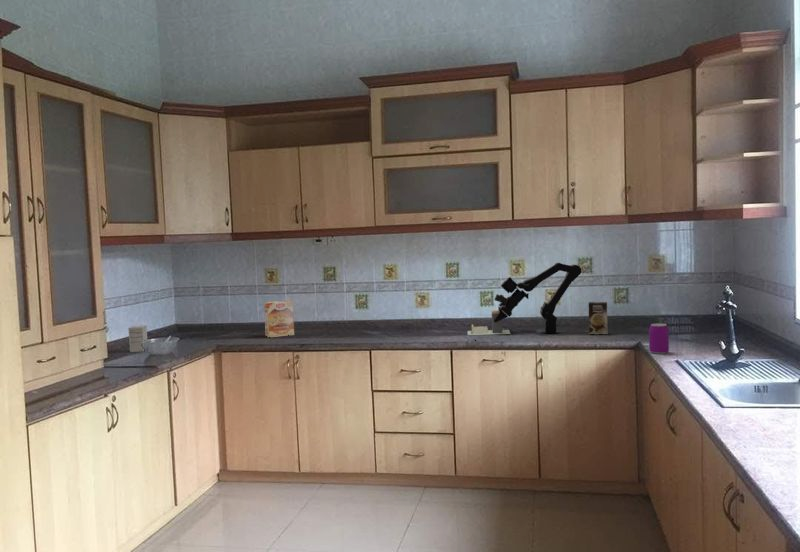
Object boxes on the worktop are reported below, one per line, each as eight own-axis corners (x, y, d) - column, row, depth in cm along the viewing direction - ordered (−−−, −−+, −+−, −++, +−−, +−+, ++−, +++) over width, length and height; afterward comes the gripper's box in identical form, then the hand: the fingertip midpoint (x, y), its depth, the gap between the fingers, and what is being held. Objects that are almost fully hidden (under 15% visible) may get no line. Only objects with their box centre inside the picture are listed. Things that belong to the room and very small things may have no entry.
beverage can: (645, 351, 296) (645, 324, 295) (661, 350, 298) (661, 322, 297) (656, 354, 288) (655, 326, 288) (672, 353, 290) (672, 324, 289)
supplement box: (134, 349, 361) (132, 325, 360) (148, 349, 362) (146, 325, 361) (129, 352, 354) (127, 327, 353) (144, 351, 354) (142, 326, 353)
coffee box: (588, 335, 347) (588, 303, 346) (589, 333, 353) (588, 301, 352) (607, 335, 345) (606, 302, 344) (607, 333, 351) (607, 301, 350)
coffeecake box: (269, 337, 384) (267, 302, 382) (265, 336, 390) (263, 302, 389) (294, 335, 391) (293, 300, 390) (290, 333, 397) (288, 299, 396)
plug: (501, 331, 364) (501, 310, 363) (502, 332, 359) (501, 311, 358) (492, 331, 364) (491, 310, 363) (492, 332, 360) (491, 311, 359)
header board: (508, 332, 368) (508, 322, 368) (510, 336, 354) (510, 326, 354) (467, 333, 370) (467, 323, 370) (467, 337, 356) (467, 327, 356)
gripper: (502, 287, 369) (482, 308, 371) (504, 290, 351) (483, 312, 352) (517, 301, 369) (497, 322, 371) (520, 305, 350) (499, 327, 352)
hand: (494, 320), depth 361 cm, fingers open, 7 cm apart
